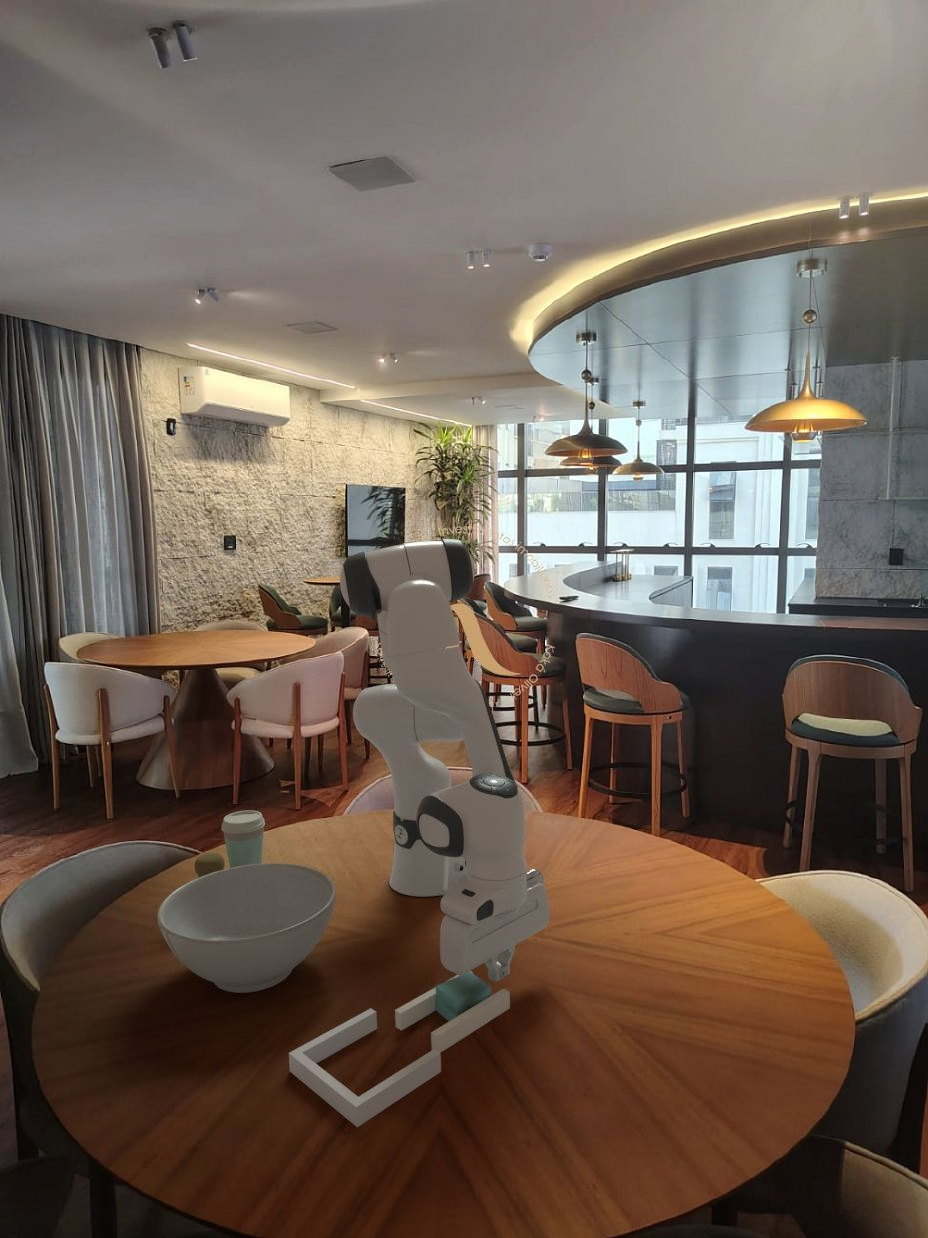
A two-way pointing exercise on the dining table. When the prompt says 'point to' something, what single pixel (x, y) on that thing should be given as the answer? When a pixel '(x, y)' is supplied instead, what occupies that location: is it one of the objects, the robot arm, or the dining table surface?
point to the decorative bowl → (248, 923)
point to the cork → (209, 864)
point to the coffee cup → (244, 837)
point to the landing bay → (342, 1097)
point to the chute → (458, 1025)
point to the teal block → (460, 995)
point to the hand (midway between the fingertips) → (499, 976)
